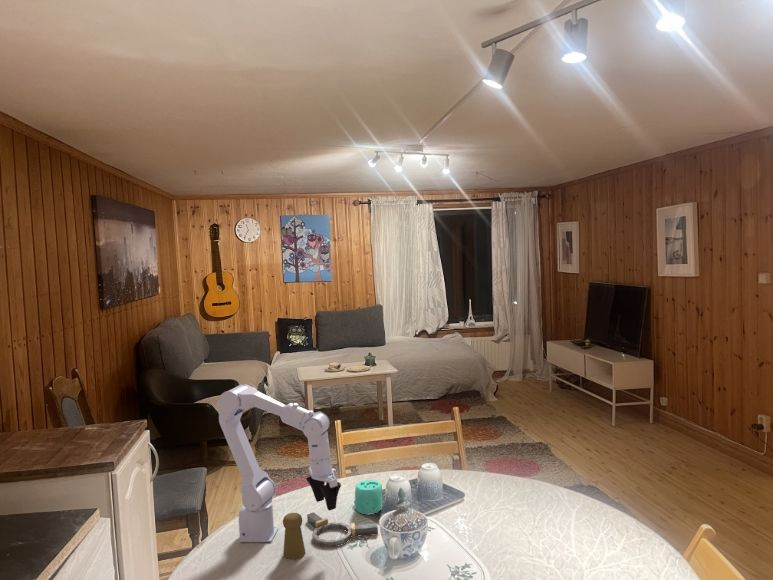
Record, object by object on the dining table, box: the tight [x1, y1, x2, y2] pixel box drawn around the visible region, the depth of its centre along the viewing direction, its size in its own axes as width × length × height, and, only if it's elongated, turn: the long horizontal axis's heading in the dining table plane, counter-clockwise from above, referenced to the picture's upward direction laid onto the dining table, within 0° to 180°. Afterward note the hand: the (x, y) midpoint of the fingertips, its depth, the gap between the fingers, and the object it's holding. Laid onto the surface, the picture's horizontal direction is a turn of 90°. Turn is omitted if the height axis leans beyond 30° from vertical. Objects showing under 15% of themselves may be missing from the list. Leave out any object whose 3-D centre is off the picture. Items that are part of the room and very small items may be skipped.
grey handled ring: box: [306, 512, 379, 548], centre depth 163 cm, size 22×16×3 cm
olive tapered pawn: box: [282, 512, 307, 561], centre depth 152 cm, size 6×6×11 cm
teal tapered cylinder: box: [354, 479, 383, 515], centre depth 177 cm, size 8×8×8 cm
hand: (326, 504), depth 157 cm, fingers open, 7 cm apart
